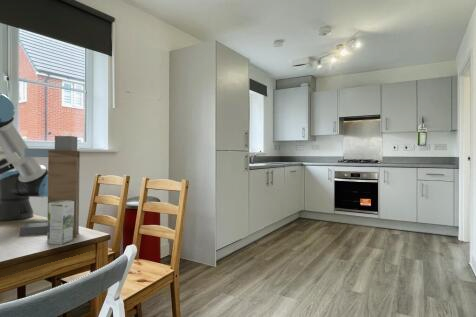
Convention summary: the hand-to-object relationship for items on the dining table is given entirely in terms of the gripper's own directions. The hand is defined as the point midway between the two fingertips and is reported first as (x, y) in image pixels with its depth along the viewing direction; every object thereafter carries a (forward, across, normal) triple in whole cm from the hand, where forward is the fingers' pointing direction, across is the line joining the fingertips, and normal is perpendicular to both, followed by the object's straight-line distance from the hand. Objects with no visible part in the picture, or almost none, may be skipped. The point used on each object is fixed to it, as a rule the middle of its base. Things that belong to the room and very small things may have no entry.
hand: (24, 155), depth 104 cm
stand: (-5, -1, -33) cm, 33 cm away
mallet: (+6, -2, -4) cm, 8 cm away
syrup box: (-4, +8, -33) cm, 34 cm away
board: (-12, -10, -28) cm, 32 cm away
